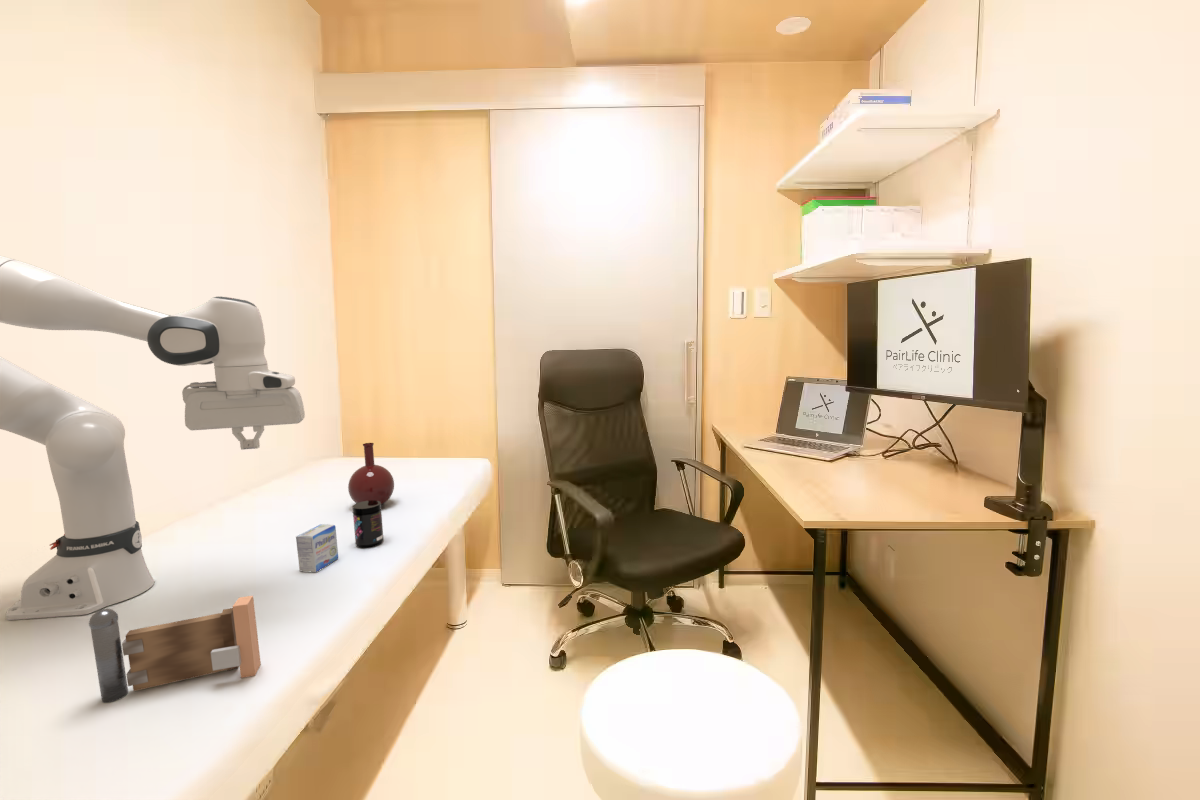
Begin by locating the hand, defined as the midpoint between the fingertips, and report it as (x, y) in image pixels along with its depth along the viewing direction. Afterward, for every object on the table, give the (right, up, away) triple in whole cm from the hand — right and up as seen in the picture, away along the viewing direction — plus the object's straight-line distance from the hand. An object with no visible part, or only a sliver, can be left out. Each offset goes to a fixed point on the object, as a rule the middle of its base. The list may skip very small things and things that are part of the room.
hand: (250, 448), depth 109 cm
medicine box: (+5, -29, +18) cm, 34 cm away
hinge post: (-3, -35, -27) cm, 44 cm away
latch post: (+13, -34, -23) cm, 43 cm away
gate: (+5, -34, -24) cm, 42 cm away
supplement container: (+11, -27, +30) cm, 42 cm away
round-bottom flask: (0, -24, +60) cm, 65 cm away
